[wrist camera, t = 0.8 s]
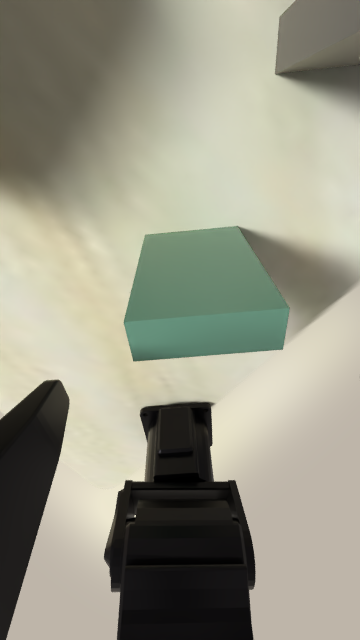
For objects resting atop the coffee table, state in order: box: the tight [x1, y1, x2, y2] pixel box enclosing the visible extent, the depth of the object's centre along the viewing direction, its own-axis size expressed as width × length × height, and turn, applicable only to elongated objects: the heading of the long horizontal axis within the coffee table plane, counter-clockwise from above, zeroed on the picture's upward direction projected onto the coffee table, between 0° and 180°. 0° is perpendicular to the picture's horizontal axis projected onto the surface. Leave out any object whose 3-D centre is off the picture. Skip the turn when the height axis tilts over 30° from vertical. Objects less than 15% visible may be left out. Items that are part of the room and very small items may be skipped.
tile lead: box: [124, 226, 290, 361], centre depth 13 cm, size 2×6×9 cm, turn 95°
